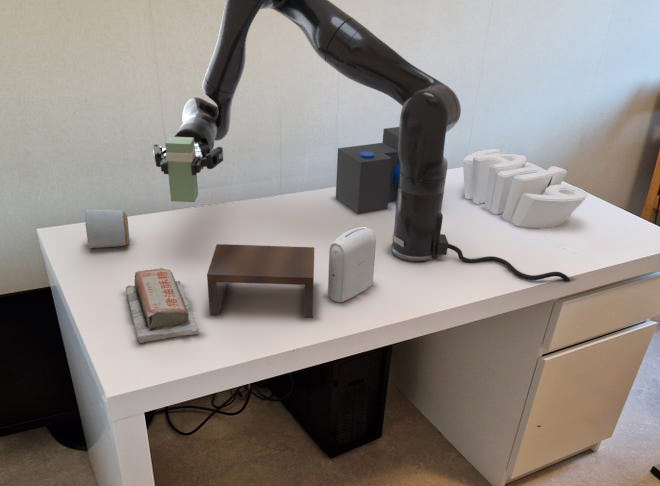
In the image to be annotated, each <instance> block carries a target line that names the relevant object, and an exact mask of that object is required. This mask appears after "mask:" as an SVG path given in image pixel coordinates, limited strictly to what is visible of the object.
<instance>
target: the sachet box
mask: <svg viewBox="0 0 660 486" xmlns="http://www.w3.org/2000/svg"><path fill="white" fill-rule="evenodd" d="M165 148H166V159H167V164H168V174H167V175H168V183H169V184H168V185H169V195H170V202H174V203H175V202H177V203H179V202H180V203H196V201H197V198H198V197H199V185H198V173H197V174H196V175H192V172H191V163H192V162H193V160H194V158H195V155H196V154H195V145H194V138H192V137H174V136H169V137H168V138H167V140H166V141H165Z"/></svg>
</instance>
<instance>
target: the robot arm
mask: <svg viewBox="0 0 660 486" xmlns="http://www.w3.org/2000/svg"><path fill="white" fill-rule="evenodd" d="M266 9H271V10H274V11H276V12H277V13H279V14H281V15H282V16H284V18H287V19H288V20H289V21H291V22H292V23H293V24H295V25H296V26H297V27H298V28H299V29H300V30H301V31H302V33H303V35H304V36H305V38H306V39H307V41H308V42H309V44H310V46H311V47H312V49H313V50H314V52H315V53H316V54H317V55H318V56H319V58H321V59H322V60H323V61H324V62H325V63H326V64H328V65H329V66H330V67H332V68H333V69H334V70H335V71H337V72H338V73H340V74H341V75H342V76H343V77H345V78H347V79H348V80H350V81H352V82H355V83H358V84H360V85H362V86H365V87H367V88H370V89H373V90H375V91H377V92H380V93H382V94H384V95H386V96H388V97H389V98H391V99H393V100H394V101H396V102H397V103H398V104H400V105H401V109H400V110H401V111H400V115H399V116H400V117H399V125H398V127H399V141H398V157H399V161H400V173H399V183H398V193H397V201H396V204H395V205H396V206H395V213H394V223H393V224H394V226H393V233H392V237H391V239H392V240H391V241H392V244H391V253H392V254H393V256H395V257H396V258H398V259H401V260H404V261H409V262H426V261H430V260H437V259H438V256H447V255H448V249H449V250H452V251H454V252H455V253H457V255H458V256H457V257H458V259H459V260H460V261H461V262H463V263H466V264H476V263H477V264H479V263H484V262H485V263H486V262H496V263H499V264H501V265H503V266H504V267H506V268H507V269H508V270H509V271H510V272H511V273H512V274H514V275H515V276H517V277H519V278H521V279H524V280H528V281H539V280H545V279H548V278H553V277H559V278H560V279H562V280H563V281H565V282H567V283H568V282H571V279H570V277H569V276H568V275H566V274H565V273H563V272H561V271H550V272H545V273H541V274H532V275H531V274H528V273H527V274H526V273H524V272H522V271H520V270H518V269H517V268H515V266H514V265H512V264H511V263H510V262H509V261H507V260H506V259H504V258H502V257H498V256H483V257H478V258H468V257H465V256H464V255H463V251H462V250H461V248H459V247H458V246H456V245H453V244H451V243H449V242H448V238H447V236H446V234H443V233H442V227H443V226H442V225H443V220H444V219H443V218H444V215H443V212H442V208H443V202H444V193H445V187H446V180H447V173H448V165H449V164H448V160H447V158H445V156H444V155H445V154H444V153H445V143H446V135H447V133H448V132H449V131H450V130H451V129H453V128H454V127H455V126H456V125H457V123H458V122H459V120H460V117H461V112H462V108H461V103H460V99H459V97H458V96H457V94H456V92H455V91H454V90H453V89H452V88H450V87H449V86H448V85H447V84H445V83H443V82H441V81H440V80H439V79H436V78H435V77H433V76H431V75H429V74H428V73H426V72H425V71H424V70H421V69H420V68H418V67H417V66H415V65H413V64H412V63H410V62H409V61H408V60H407V59H405V57H403V56H402V55H400V54H399V53H398V52H397V51H396V50H394V49H393V48H391V47H390V45H388V44H387V43H386V42H385V41H383V40H381V39H380V38H379V37H378V36H377V35H375V34H374V33H373V32H372V31H371V30H370V29H368V28H367V27H366V26H364V25H363V24H362V23H360V22H359V21H358V20H356V19H355V18H354V17H352V15H351V16H350V15H349V14H348V13H346V12H344V10H342V8H340V7H339V6H337V5H336V4H334V3H333V2H331V1H330V0H225V1H224V6H223V12H222V17H221V21H220V27H219V31H218V35H217V39H216V43H215V46H214V49H213V53H212V55H211V57H210V60H209V63H208V66H207V69H206V71H205V74H204V77H203V80H202V82H201V88H202V91H203V93H204V94H205V95H206V96H207V97H208V98H209V99H210V100H211V101H213V103H211V102H210V101H207V100H205V99H203V98H202V97H197V96H195V97H192V98H190V99H188V100H187V102H186V103H185V104H184V107H183V110H182V115H181V116H182V117H181V121H182V124H181V125H180V126H179V128H178V130H177V131H176V133H175V135H174V136H173V137H192V138H194V145H195V154H196V155H195V158H194V160H193V162H192V163H191V172H192V175H196V174H197V175H198V174H199V173H201V171H202V170H204V168H205V167H206V169H207V170H212V169H214V168H216V167H217V166H218V165H220V164H222V162H223V161H224V148H223V147H222V146H217V147H215V148H214V146H215V142H218V141H222V140H223V139H224V138H225V137H226V136H227V135H228V133H229V131H230V125H231V114H232V105H233V100H234V97H235V94H236V92H237V89H238V86H239V84H240V82H241V79H242V76H243V73H244V70H245V64H246V60H247V59H246V57H247V55H246V53H247V52H246V51H247V47H246V46H247V39H248V34H249V30H250V28H251V26H252V24H253V22H254V20H255V18H256V17H257V14H258V13H259V11H260V10H266ZM214 103H215V104H214ZM152 151H153V160H154V163H155V167H157V168H160V171H161V173H162V172H163V175H168V164H167V159H166V147H163V146H160V144H157V143H155V144H152ZM541 426H542V425H537V427H538V428H541Z"/></svg>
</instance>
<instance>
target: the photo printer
mask: <svg viewBox="0 0 660 486" xmlns="http://www.w3.org/2000/svg"><path fill="white" fill-rule="evenodd" d="M376 246H377V237H376V234H375V231H374V230H373V229H372V228H369V227H367V226H359V227H355V228H352V229H349V230H347V231H346V232H344V233H342V234H340V235H339V236H338V237H337V238H336V239H334V241H332V242H331V244H330V246H329V252H328V279H327V283H328V284H327V294H328V296H329V299H330V300H332V301H333V302H337V303H342V302H346V301H348V300H350V299H351V298H353V297H355V296H357V295H360V293H361V294H362V292H364V291H366V290H367V289H369V288H370V287H372V285H373V283H374V276H375V275H374V272H375V262H376V261H375V260H376Z"/></svg>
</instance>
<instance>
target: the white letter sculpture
mask: <svg viewBox="0 0 660 486" xmlns="http://www.w3.org/2000/svg"><path fill="white" fill-rule="evenodd" d="M462 169H463V186H464V188H463V189H464V199H467V200H471V202H472V203H474V204H476V205H480V204H484V207H483V208H484V209H485V210H487V211H489V212H490V213H492V214H493V215H495V216H496V215H501V214H502V216H501V218H502V219H503V220H505V221H507V222H510V223H511V224H513V225H515V226H516V227H519V228H528V229H529V228H530V229H531V228H532V229H534V228H535V229H543V228H545V229H546V228H553V227H559V226H561V225H562V224H563V223H564V222H565V221H566V220H567V219H568V218H570V216H571V215H572V214H573V213H574V212H575V211H576V210H577V209H578V208H579V206H581V204H582V203H584V202H585V200H586V199H587V198H588V193H587V192H586V191H585V190H584V189H582V188H580V187H577V186H575V185H570V184H562V183H563V181H564V179H565V177H566V175H567V173H568V171H567V170H566V169H565V168H562V167H558V166H555V165H552V166H550V167H548V169H544V167H543V168H542V167H540V166H539V165H536V164H533V163H531V162H529V161H527V157H526V156H525V155H522V154H515V153H514V154H513V153H505V152H503V151H502V150H500V149H498V148H490V149H489V148H487V149H482V150H478V151H474V152H471V153H469V154H468V155H467V156H466V157H464V159H463V160H462Z"/></svg>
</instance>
